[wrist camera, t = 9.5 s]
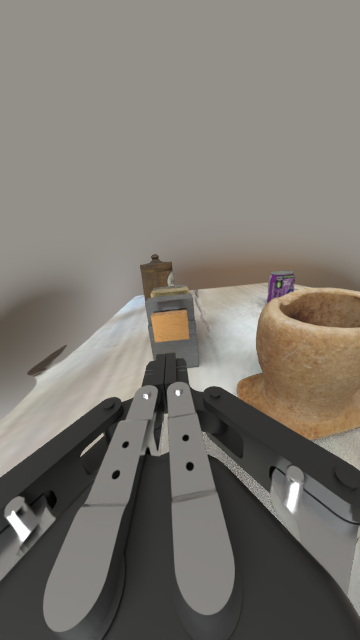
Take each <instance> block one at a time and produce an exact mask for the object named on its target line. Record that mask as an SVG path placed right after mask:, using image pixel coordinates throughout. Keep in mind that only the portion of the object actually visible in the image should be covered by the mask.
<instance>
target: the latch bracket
mask: <svg viewBox="0 0 360 640" xmlns="http://www.w3.org/2000/svg"><path fill="white" fill-rule="evenodd" d="M145 306H146V311H147V317H148V323H149V325H148V330H149V335H150V341H151V347H152V353H153V358H154V361H155V360H156V355H157V354H164V353H173V352H176V358H184V360H185V361H186V365H187V368H192V367H199V364H198V350H197V337H196V324H195V318H194V305H193V297H192V295H191V293H190V294H189V290H188V288H187V285H178V286H169V287H159V288H153V291H152V293H151V298H148V299H147V301H146V302H145ZM172 309H179V310H186V311H187V318H188V329H189V339H183V340H173V341H164V342H155V339H154V333H153V326H152V320H151V315H152V313H159V312H162V311H163V310H172Z"/></svg>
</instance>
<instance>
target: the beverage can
mask: <svg viewBox="0 0 360 640" xmlns="http://www.w3.org/2000/svg"><path fill="white" fill-rule="evenodd" d="M293 273H294V272H293V271H278V272H272V273H271V276H270V278H269V284H268V299H267V303H268V302H270V301H271V300H272V299H274V298H279V297H282V296H284V295H286V294H288V293H290V292H293V291H294V282H295V277H294V274H293Z"/></svg>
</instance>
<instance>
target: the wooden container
mask: <svg viewBox="0 0 360 640" xmlns="http://www.w3.org/2000/svg"><path fill="white" fill-rule="evenodd" d="M158 257H159V256H158V255H156V254H154V255H152V256H151V258H152V261H151V262H150V263H149V264H145V265H140V269H141V274H142V281H143V289H144V295H145V301H147V299H148V298H151V293H152V291H153V288H159V287H169V286H174V279H173V271H172V262H162V261H160V260H159V259H158Z"/></svg>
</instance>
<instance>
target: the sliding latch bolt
mask: <svg viewBox="0 0 360 640" xmlns="http://www.w3.org/2000/svg"><path fill="white" fill-rule="evenodd" d="M151 320H152V326H153V333H154V339H155V342H164V341H173V340H183V339H189V329H188V318H187V311H186V310H179V309H172V310H163V311H162V312H159V313H152V315H151Z"/></svg>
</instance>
